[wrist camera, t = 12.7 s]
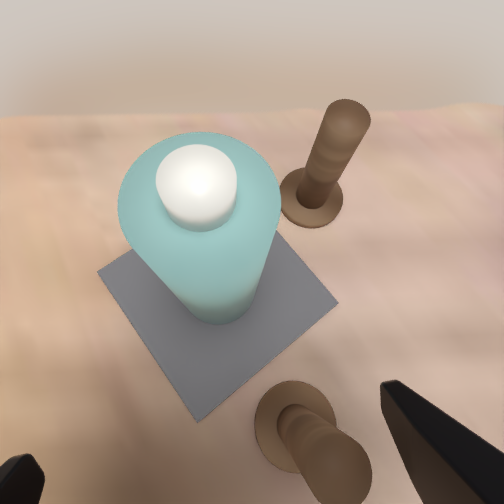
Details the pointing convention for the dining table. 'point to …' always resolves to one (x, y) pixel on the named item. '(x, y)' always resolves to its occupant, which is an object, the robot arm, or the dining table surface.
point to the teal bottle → (202, 220)
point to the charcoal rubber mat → (218, 336)
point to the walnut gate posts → (298, 393)
